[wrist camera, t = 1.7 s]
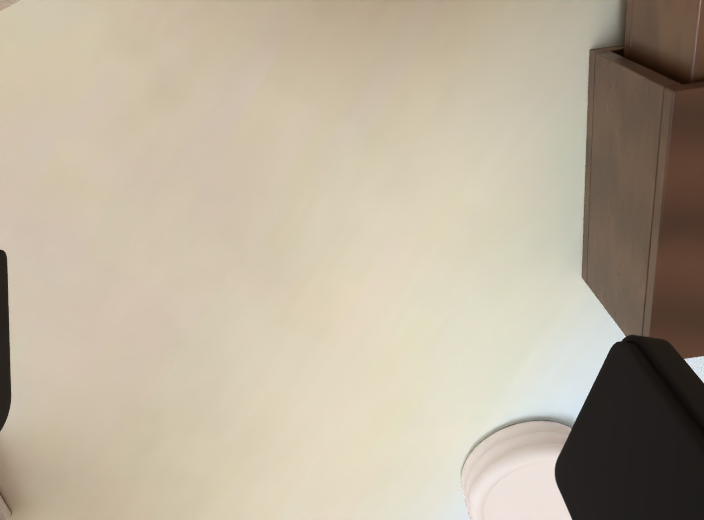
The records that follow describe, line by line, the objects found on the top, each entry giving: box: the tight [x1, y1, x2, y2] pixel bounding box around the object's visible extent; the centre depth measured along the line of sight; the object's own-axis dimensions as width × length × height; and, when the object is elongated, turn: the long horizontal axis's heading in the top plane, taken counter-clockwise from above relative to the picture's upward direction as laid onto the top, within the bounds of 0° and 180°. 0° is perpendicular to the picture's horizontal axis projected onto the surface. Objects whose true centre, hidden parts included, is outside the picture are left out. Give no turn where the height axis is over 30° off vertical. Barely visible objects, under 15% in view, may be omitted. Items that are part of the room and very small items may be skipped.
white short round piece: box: [461, 421, 572, 520], centre depth 48 cm, size 10×10×4 cm
